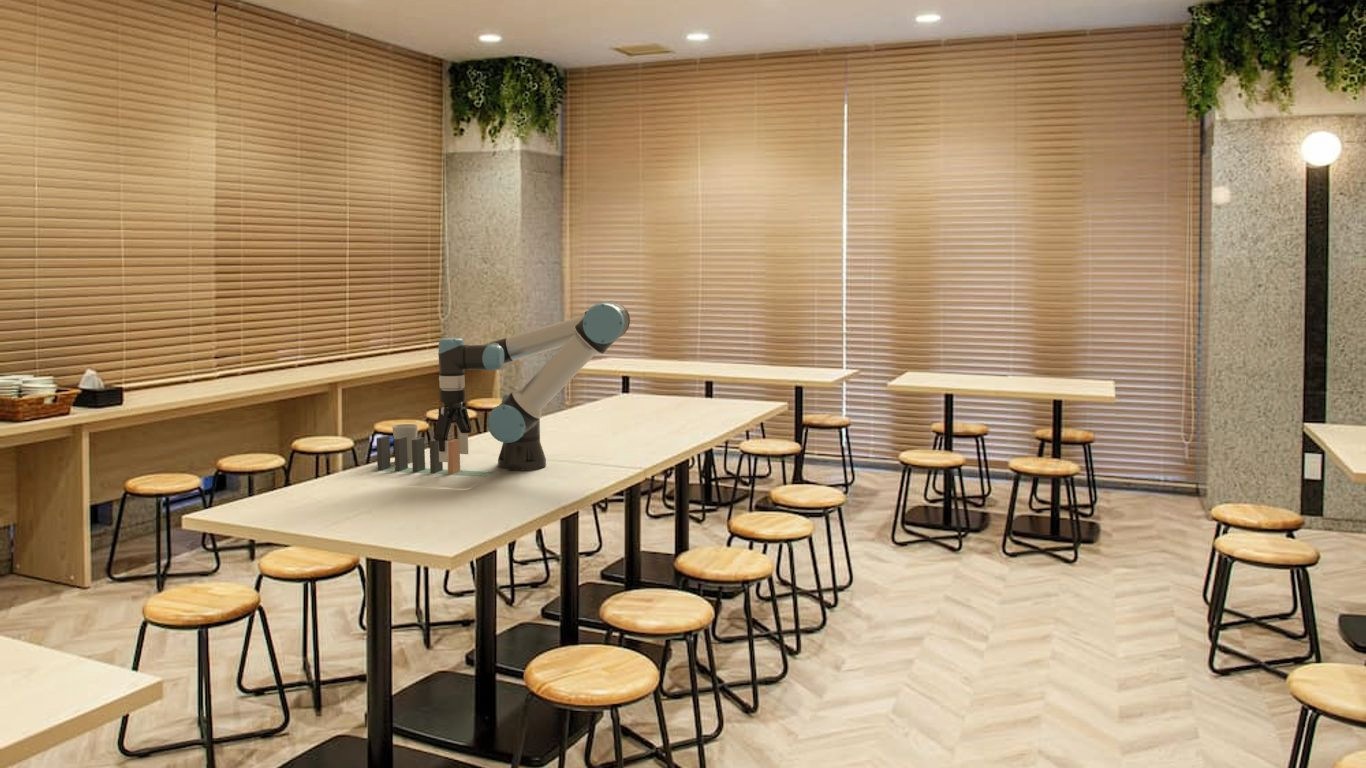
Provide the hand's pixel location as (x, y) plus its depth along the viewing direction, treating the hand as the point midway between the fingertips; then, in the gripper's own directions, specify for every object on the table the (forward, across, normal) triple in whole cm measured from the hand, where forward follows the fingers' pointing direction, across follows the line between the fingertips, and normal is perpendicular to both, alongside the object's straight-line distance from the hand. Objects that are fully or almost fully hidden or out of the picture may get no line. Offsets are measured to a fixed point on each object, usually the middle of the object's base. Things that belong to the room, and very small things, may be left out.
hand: (454, 457), depth 330 cm
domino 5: (+4, 0, 0) cm, 5 cm away
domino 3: (+4, 0, -12) cm, 13 cm away
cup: (+5, -13, -24) cm, 27 cm away
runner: (+5, 0, -8) cm, 9 cm away
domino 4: (+4, 0, -6) cm, 8 cm away
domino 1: (+4, 0, -24) cm, 24 cm away
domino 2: (+4, 0, -18) cm, 19 cm away
